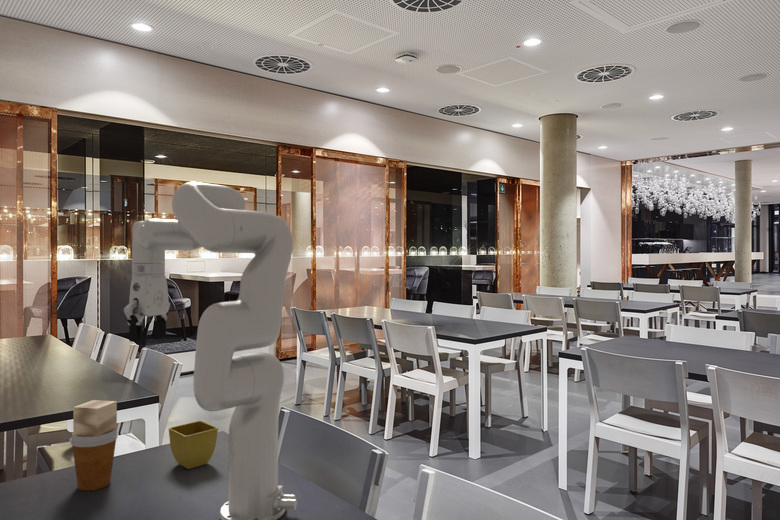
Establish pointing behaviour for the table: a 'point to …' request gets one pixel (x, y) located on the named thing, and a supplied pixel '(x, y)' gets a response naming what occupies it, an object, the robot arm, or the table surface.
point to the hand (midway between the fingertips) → (148, 338)
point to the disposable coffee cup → (94, 459)
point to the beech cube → (94, 418)
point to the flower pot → (193, 443)
